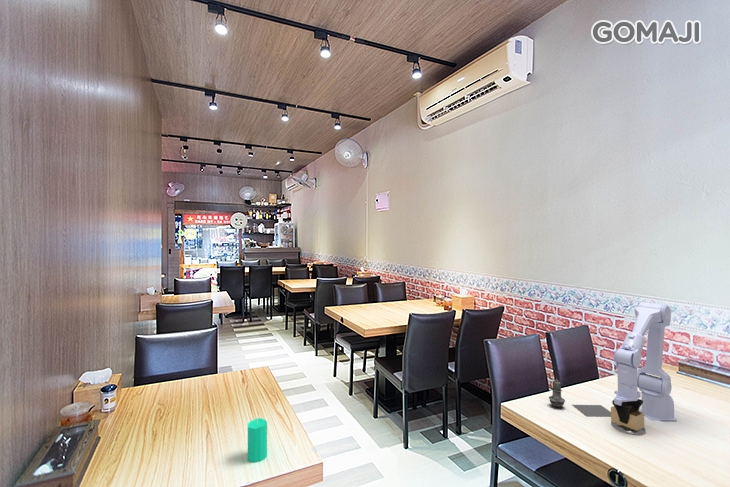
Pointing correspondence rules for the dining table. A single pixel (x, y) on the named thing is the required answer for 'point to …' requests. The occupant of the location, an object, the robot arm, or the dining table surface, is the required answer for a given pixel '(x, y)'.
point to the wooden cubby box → (629, 419)
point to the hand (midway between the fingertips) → (627, 420)
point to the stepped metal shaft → (556, 396)
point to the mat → (593, 410)
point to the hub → (628, 429)
